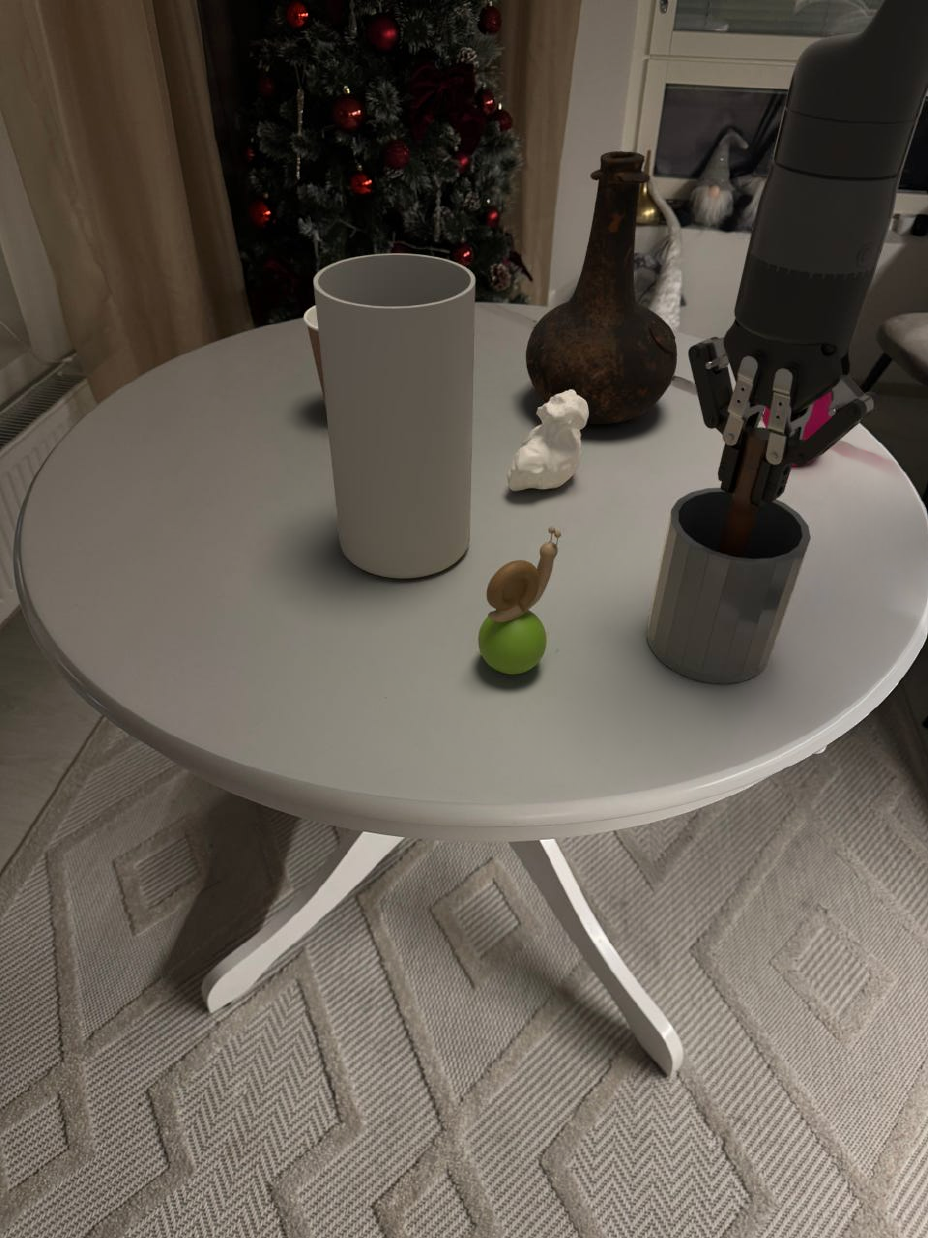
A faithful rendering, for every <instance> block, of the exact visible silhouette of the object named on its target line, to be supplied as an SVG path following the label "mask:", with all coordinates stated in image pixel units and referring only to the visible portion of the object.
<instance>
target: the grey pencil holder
mask: <svg viewBox="0 0 928 1238" xmlns="http://www.w3.org/2000/svg"><path fill="white" fill-rule="evenodd" d="M732 494H733V492H732V493H727V492H725V491H723V490H721V487H707V488H703V489H699V490H695V491H691V492H689V493H687V494H686V495H684V496H682V497H680V498H679V499H677V501H675V503H674V504H673V507H672V508H671V509H670V513H669V518H668V521H667V522H668V523H667V528H666V532H665V537H664V543H663V547H662V551H661V557H660V562H659V565H658V566H659V567H658V571H657V575H656V576H657V577H656V582H655V586H654V591H653V597H652V601H651V606H650V611H649V615H648V623H647V624H648V625H647V628H646V640H647V642H648V645H649V648H650V649H651V651H652V653H653V654H654V655H655V657H656V658H657V659H658V660H659V662H661V663H662V664H663V665H664V666H666V667H668V668H669V669H671V670H672V671H673V672H675V673H677V674H679V675H682V676H684V677H686V678H689V679H692V680H696V681H697V682H698V681H699V682H702V683H708V684H718V685H724V684H736V683H740V682H741V683H742V682H744V681H748V680H750V679H753V678H754V677H756V676H757V675H759V674H760V673H761V672H762V671H763V670H764V669H765V668H766V667H767V665H768V664H769V661H770V659H771V656H772V653H773V650H774V648H775V645H776V642H777V639H778V636H779V633H780V629H781V627H782V625H783V622H784V618H785V616H786V613H787V611H788V607H789V604H790V601H791V597H792V595H793V592H794V589H795V586H796V584H797V580H798V577H799V574H800V571H801V568H802V565H803V562H804V560H805V557H806V553H807V551H808V547H809V545H810V542H811V539H812V537H811V531H810V527H809V525H808V523H807V522H806V521H805V519H804V518H803V517H802V515H801V514H800V513H799V512H798V511H796V510H795V509H793V508H792V507H791V506H789V505H788V504H787V503H786V502H783V501H781V500H779V499H778V498H777V499H775V500H774V501H772V502H771V503H768V504H766V505H765V506H763V507H762V508H759V507H758V509H757V512H756V516H755V519H754V523H753V526H752V530H751V533H750V537H749V540H748V544H747V547H746V551H745V554H744V558H741V557H733V556H729V555H726V554H722V553H719V552H718V548H719V544H720V540H721V536H722V532H723V528H724V525H725V521H726V517H727V513H728V509H729V505H730V501H731V498H732Z"/></svg>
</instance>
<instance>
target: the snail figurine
mask: <svg viewBox="0 0 928 1238" xmlns="http://www.w3.org/2000/svg"><path fill="white" fill-rule="evenodd" d="M548 533H549V534H550V540H549V541H546V542H544V543H543V544H542V545H541V546H540V549H539V561H538V563H537V566H535V565H534V564H533V563H532V562H530V561H527V560H524V559H517V560H512V561H510V562H507V563H505V564H504V565H502V566H501V567H500V568H499V569H498V570H497V571H496V572H494V574H493V576H492V577H491V578H490V580H489V582H488V584H487V588H486V600H487V603H488V605H489V606H490V607H492V608H493V609H495V610H493V611H490V612H488V614H487V616H486V618H485V619H484V620H483V622H482V623H481V626H480V628H479V631H478V636H477V644H478V649H479V653H480V655H481V657H482V659H483V660H484V661H485V662H486V664H487V665H488V666H489V667H490V668H492V669H493V670H494V671H497V672H499V673H501V674H505V675H519V674H523V673H526V672H528V671H530V670H531V669H533V668H535V666H537V665H538V664H539V662H540V661H541V660H542V658H543V656H544V654H545V652H546V650H547V649H546V648H547V642H548V641H547V639H548V638H547V632H546V629H545V626H544V624H543V622H542V621H541V619H540V618H539V617H538V616H537V615H536V613H534V612H533V611H531V610H530V609H532V608H533V607H534V606H535V605H536V604H537V603H538V602H539V601H540V600H541V598H542V597H543V595H544V593H545V591H546V589H547V586H548V584H549V582H550V579H551V576H552V572H553V568H554V561H555V559H556V557H557V555H558V552H559V548H558V543H559V538H560V537H562V532H561V531H560V530H556V528H555V527H554V526H549V527H548ZM553 536H554V537H555V538H556V543H555V542H554V541H552V540H553Z"/></svg>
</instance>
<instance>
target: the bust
mask: <svg viewBox="0 0 928 1238" xmlns="http://www.w3.org/2000/svg"><path fill="white" fill-rule="evenodd" d="M535 414H536V415H537V416H538V417H539V418H540V419H539V420H540V421H541V424H539V425H537V426H535V427H534V428H533V429H531V430H530V431H529V432H528V434H527V437H526V438H525V440H524V441H523V442H522V443H521V445H520V448H519V449H518V450H517V451H516V453H515V454H514V456H513V458H512V460H511V462H510V465H509V466H508V470H507V475H506V476H507V477H506V479H507V484H508V488H509V489H510V490H511V491H513V492H519V491H524V490H527V489H537V490H548V489H556V488H559V487H561V486H563V485H564V484H565V483H566V482H568V481H569V480H570V479H571V477H573V476H574V475H575V473H576V472H577V471H578V469H579V465H580V462H581V458H582V452H581V449H582V441H581V437H582V434H581V431H580V430H582V429H584V428H585V426H586V425H587V424H588V423H587V419H588V416H589V410H588V405H587V402H586V401H585V400H584V399H583V398H582V397H580V396H579V395H577V394H576V392H575V391H574V390H571V389H570V390H568V391H565V392H563V393H560V394H556V395H555V396H553V397H551V398H550V401H549V402H548V403H545V402H544V403H543V405H542V406H538V407H537V410H536V413H535Z"/></svg>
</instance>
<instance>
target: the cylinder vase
mask: <svg viewBox="0 0 928 1238" xmlns="http://www.w3.org/2000/svg"><path fill="white" fill-rule="evenodd" d="M313 290H314V291H313V293H314V301H315V305H316V312H317V322H318V332H319V341H320V351H321V361H322V371H323V381H324V391H325V401H326V406H325V409H326V419H327V428H328V429H327V430H328V439H329V449H330V451H329V452H330V460H331V470H332V478H333V489H334V499H335V508H336V518H337V519H336V520H337V526H338V527H337V529H338V538H339V545H340V549H341V551H342V553H343V554H344V555H345V557H346V558H347V560H349V561H350V563H352V564H353V565H355V567H357V568H359V569H361V570H363V571H364V572H367V573H368V574H369V573H370V574H372V575H375V576H378V577H382V578H383V577H384V578H390V579H415V578H422V577H427V576H430V575H434V574H437V573H439V572H442V571H444V570H446V569H448V568H449V567H451V566H453V565H454V564H455V563H456V562H458V561H459V560H460V559H461V558H462V557H463V556H464V554H465V553H466V551H467V550H468V548H469V544H470V539H471V509H472V506H471V505H472V504H471V503H472V501H471V500H472V464H473V463H472V461H473V460H472V459H473V458H472V457H473V414H474V411H473V409H474V408H473V407H474V406H473V405H474V365H475V364H474V361H475V358H474V357H475V318H476V317H475V311H476V310H475V309H476V277H475V274H474V273H473V272H472V271H471V270H470V269H469V268H467V267H466V266H464V265H462V264H460V263H458V262H455V261H453V260H449V259H447V258H441V257H439V256H432V255H425V254H416V253H378V254H377V253H376V254H368V255H366V254H365V255H361V256H360V255H359V256H355V257H349V258H347V259H346V258H345V259H342V260H339V261H336V262H334V263H331V264H329V265H326V266H325V267H323V268H322V269H320V270H319V271H318V272H317V273H316V274H315V276H314V277H313Z"/></svg>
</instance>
